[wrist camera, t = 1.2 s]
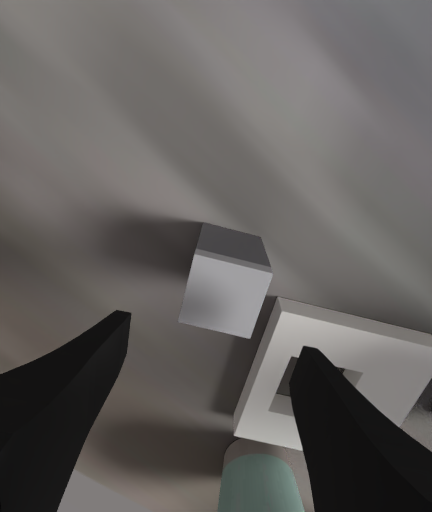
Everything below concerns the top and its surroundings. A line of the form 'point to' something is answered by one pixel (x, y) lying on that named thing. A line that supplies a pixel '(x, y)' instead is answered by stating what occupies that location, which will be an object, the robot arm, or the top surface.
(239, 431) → the socket plate
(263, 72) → the top surface
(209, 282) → the plug
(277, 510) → the coffee cup
